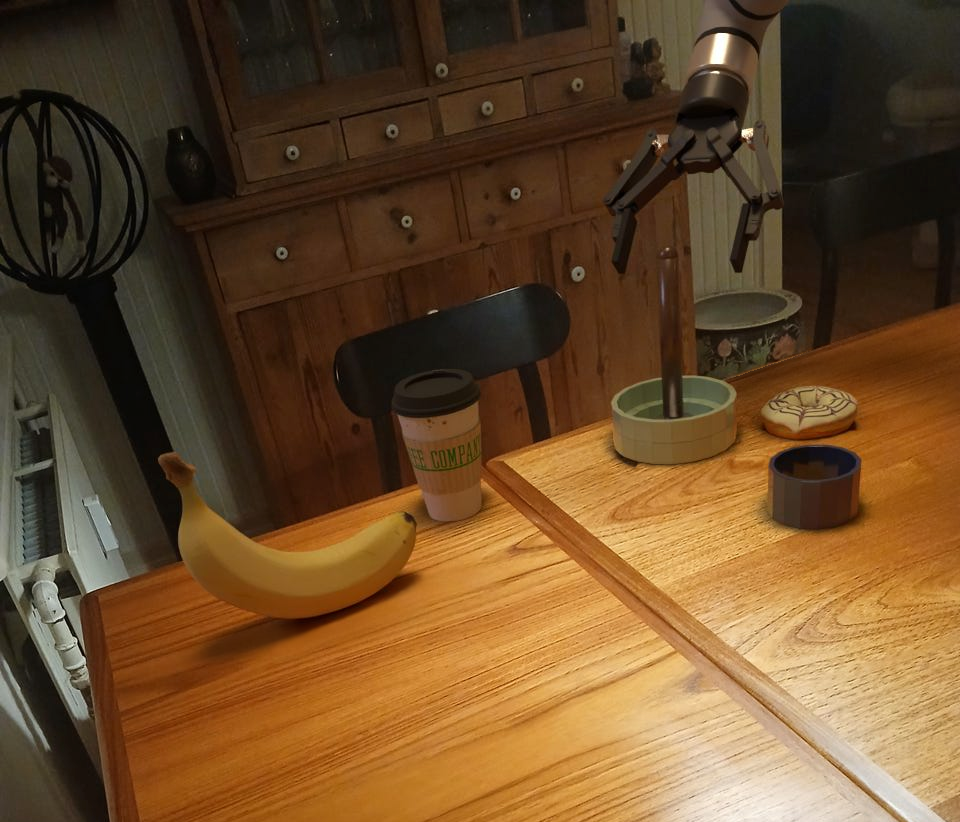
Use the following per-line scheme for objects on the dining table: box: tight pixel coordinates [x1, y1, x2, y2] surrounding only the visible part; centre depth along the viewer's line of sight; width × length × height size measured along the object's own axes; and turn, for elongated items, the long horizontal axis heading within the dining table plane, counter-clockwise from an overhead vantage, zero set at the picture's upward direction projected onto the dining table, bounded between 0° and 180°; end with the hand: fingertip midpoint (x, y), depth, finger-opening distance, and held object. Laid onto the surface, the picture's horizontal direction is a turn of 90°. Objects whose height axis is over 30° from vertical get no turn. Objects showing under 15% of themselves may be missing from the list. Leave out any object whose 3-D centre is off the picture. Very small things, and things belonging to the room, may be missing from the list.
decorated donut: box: [760, 385, 858, 440], centre depth 117 cm, size 10×11×4 cm
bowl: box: [610, 375, 738, 465], centre depth 117 cm, size 14×14×6 cm
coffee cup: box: [390, 368, 483, 523], centre depth 109 cm, size 10×10×15 cm
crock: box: [766, 444, 863, 531], centre depth 98 cm, size 9×9×6 cm
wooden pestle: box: [654, 244, 693, 420], centre depth 113 cm, size 5×5×22 cm
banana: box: [157, 451, 418, 620], centre depth 93 cm, size 23×6×20 cm, turn 117°
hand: (675, 267), depth 109 cm, fingers open, 13 cm apart
